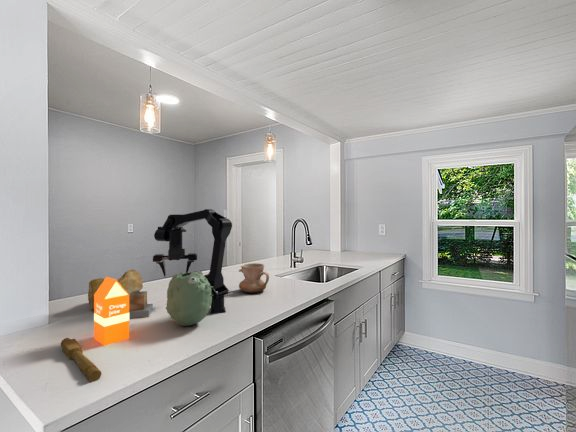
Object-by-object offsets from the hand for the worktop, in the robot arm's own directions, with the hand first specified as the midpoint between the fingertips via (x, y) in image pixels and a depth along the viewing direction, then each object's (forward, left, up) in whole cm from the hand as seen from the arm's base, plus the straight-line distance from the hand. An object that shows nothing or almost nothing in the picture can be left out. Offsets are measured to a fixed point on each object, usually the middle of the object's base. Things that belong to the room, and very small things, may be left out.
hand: (175, 276), depth 139 cm
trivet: (-10, +14, -13) cm, 22 cm away
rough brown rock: (+8, +28, -13) cm, 32 cm away
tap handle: (-50, +21, -14) cm, 56 cm away
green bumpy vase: (-28, -7, -13) cm, 32 cm away
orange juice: (-35, +17, -13) cm, 41 cm away
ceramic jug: (+15, -38, -13) cm, 43 cm away
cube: (-10, +14, -10) cm, 20 cm away
